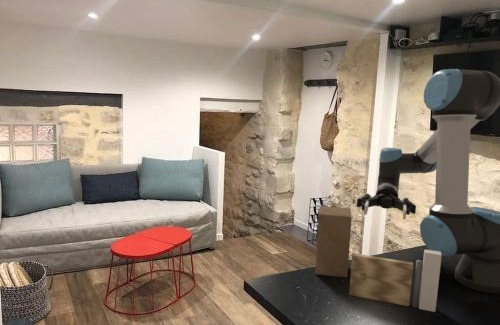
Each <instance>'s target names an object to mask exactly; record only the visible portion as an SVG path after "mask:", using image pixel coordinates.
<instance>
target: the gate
mask: <svg viewBox="0 0 500 325" xmlns="http://www.w3.org/2000/svg"><path fill="white" fill-rule="evenodd" d="M350 264H351V265H350V276H349V277H350V280H349V293H348V295H349V296H353V297H358V298H364V299H369V300H374V301H381V302H384V303H388V304H389V303H391V304H396V305H400V306H406V307H410V300H411V299H410V298H411V293H412V292H411V290H412V280H413V269H414V262H412V261H404V260H400V259H393V258H386V257H382V256H381V257H379V256H373V255H367V254H359V253H354V252H352V254H351V263H350Z"/></svg>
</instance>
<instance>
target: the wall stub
mask: <svg viewBox="0 0 500 325" xmlns="http://www.w3.org/2000/svg"><path fill="white" fill-rule="evenodd" d="M442 256H443V255H441V252H439V251H432V250H429V249H424V251H423V259H422V260H421V259H416V261H415V270H414V280H413V281H414V282H413V289H412V290H413V291H412V300H411V306H412V307H413V308H418V309H419V310H423V311H429V312H433V313H435V312H436V308H437V301H438V292H439V291H438V290H439V282H440V281H439V280H440V274H441V264H442Z"/></svg>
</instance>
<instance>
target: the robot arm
mask: <svg viewBox="0 0 500 325" xmlns="http://www.w3.org/2000/svg"><path fill="white" fill-rule="evenodd" d="M423 102H424V104H425V106H426V108H428V109H429V110H431V113H432V114H431V117H432V119H433V120H434V121H435V122H436V123H437V127H436V128H437V129H435V131H434V133H432V134H431V135H430V136H429V137H428V138H427V140H426V141H425V142H424V143H423V144H422V145H421V146H420V147H419V148H418V149H417V150H416V151H415V152H414V153H413V152H411V153H410V152H409V153H407V152H404V153H403V150H402V149H401V148H397V147H383V148H382V149H381V150H380V154H379V162H378V163H379V164H378V166H379V168H378V177H377V184H376V185H377V186H376V192H375V195H374V196H373V195H371V194H370V193H365V195H363V196H360V197H359V198H357V199H356V207H357V208H361V210H362V211H363V212H364V213H363V214H364V215H366V216H367V215H368V211H369V208H372V207H380V208H382V209H386V210H388V209H397V210H399V211H400V212H402V220H406V219H407V215H408V216H409V215H410V214H413V215H414V214H416V211H417V210H416V209H417V205H416V204H415V203H414V202H411V201H410V200H409V198H408V197H405V198H402V199H401V198H400V197H399V191H400V190H399V189H400V188H399V187H400V179H401V178H400V177H401V174H428V173H429V174H430V173H433V172H435V194H434V196H435V197H434V201H435V202H434V203H433V204H432V205H431V206H429V209H428V210H429V213H428V214H429V215H427V216H424V217H423V219H422V220H421V222H420V224H419V232H420V237H421V239H422V242H423V244H424V245H425V246H426V248H427V250H432V251H439V252H441V255H442V256H448V257H452V256H457V255H462V256H461V258H460V260H459V262H458V264H456V267H455V269H454V279H455V280H456V281H457V282H458V283H459V284H461V285H463V286H464V287H466V288H469V289H471V290H475V291H478V292H482V293H486V294H499V295H500V211H498V210H495V209H490V208H485V207H480V206H479V207H478V206H469V204H468V201H469V198H468V197H469V175H470V173H469V170H470V148H471V147H470V146H471V145H470V144H471V140H470V139H471V130H472V129H473V128H474V126H476V125H477V124H478V123H479V122H480V121H486V120H487V119H489V117H490V116H491V115H493V114H494V113H495V111H496V110H497V109H498V108H499V106H500V78H499V77H498V76H497V75H496V74H495V73H493V72H491V71H487V70H474V69H460V68H447V69H440V70H439V71H438V70H437V71H436V72H434V73H433V74H432V75H431V77H430V78H429V79H428V81H427V82H426V84H425V87H424V91H423Z"/></svg>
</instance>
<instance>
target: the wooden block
mask: <svg viewBox="0 0 500 325" xmlns="http://www.w3.org/2000/svg"><path fill="white" fill-rule="evenodd" d="M318 210H319V211H318V215H317V217H318V218H317V235H316V237H317V238H316V253H315V268H314V269H315V271H314V272H315V274H316V275H319V276H327V277H337V278H348V274H349V273H348V272H349V260H350V259H349V258H350V246H351V232H352V220H353V218H352V210H351V208H348V207H339V206H338V207H335V206H324V205H320V206H319V209H318Z"/></svg>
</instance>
